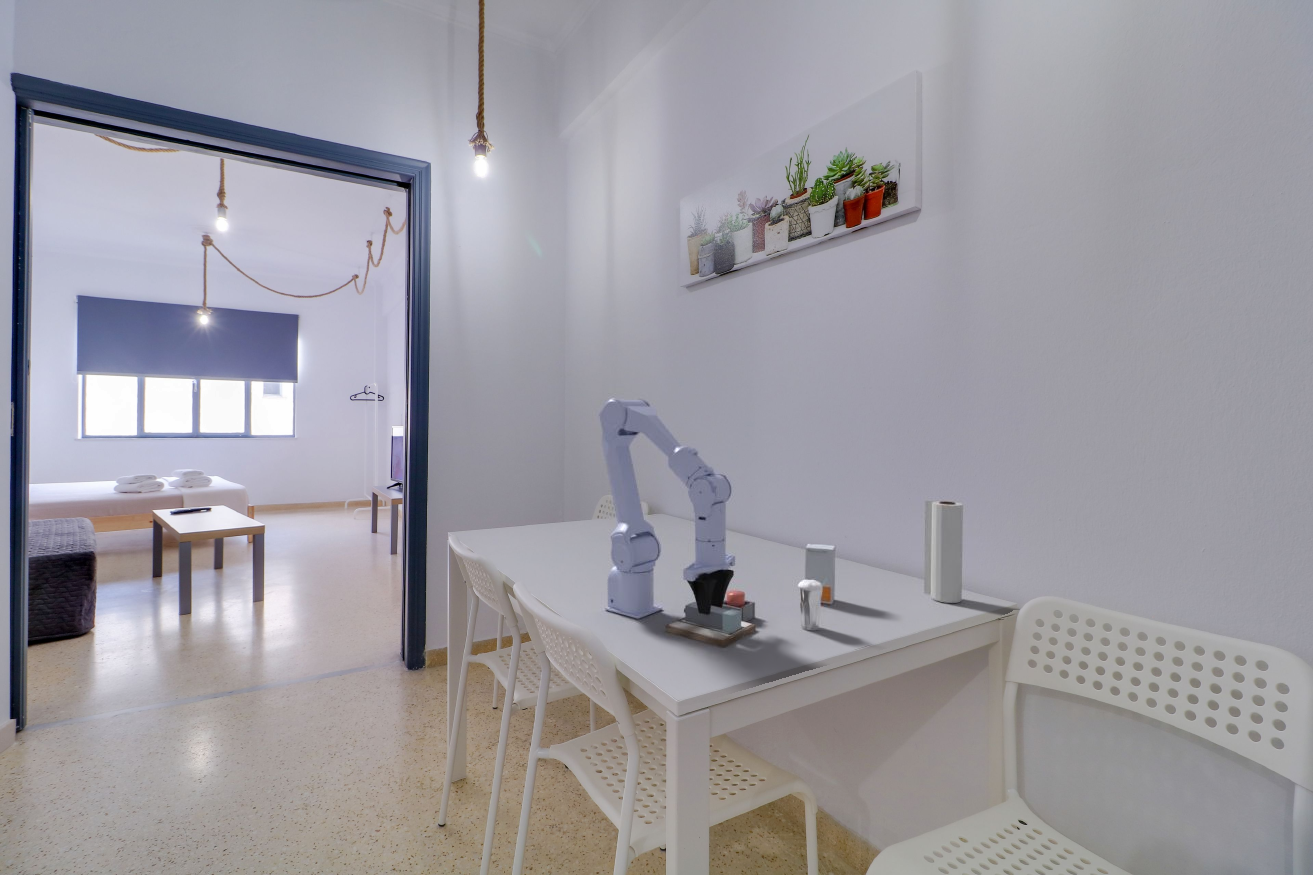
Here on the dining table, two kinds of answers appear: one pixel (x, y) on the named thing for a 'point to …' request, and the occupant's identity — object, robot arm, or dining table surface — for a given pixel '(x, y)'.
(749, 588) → the dining table surface
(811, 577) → the skincare box
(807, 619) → the milkshake
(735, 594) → the button
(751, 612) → the button housing
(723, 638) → the brown flat wooden board
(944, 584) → the paper towel roll
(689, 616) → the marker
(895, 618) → the dining table surface
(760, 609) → the dining table surface
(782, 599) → the dining table surface
